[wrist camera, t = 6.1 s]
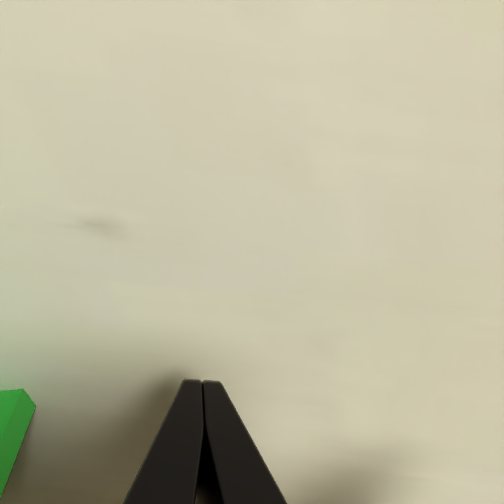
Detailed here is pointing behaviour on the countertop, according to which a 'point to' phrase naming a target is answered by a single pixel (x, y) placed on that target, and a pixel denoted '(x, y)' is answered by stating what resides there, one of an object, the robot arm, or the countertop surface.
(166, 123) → the countertop surface
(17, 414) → the pipe clamp
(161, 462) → the robot arm
